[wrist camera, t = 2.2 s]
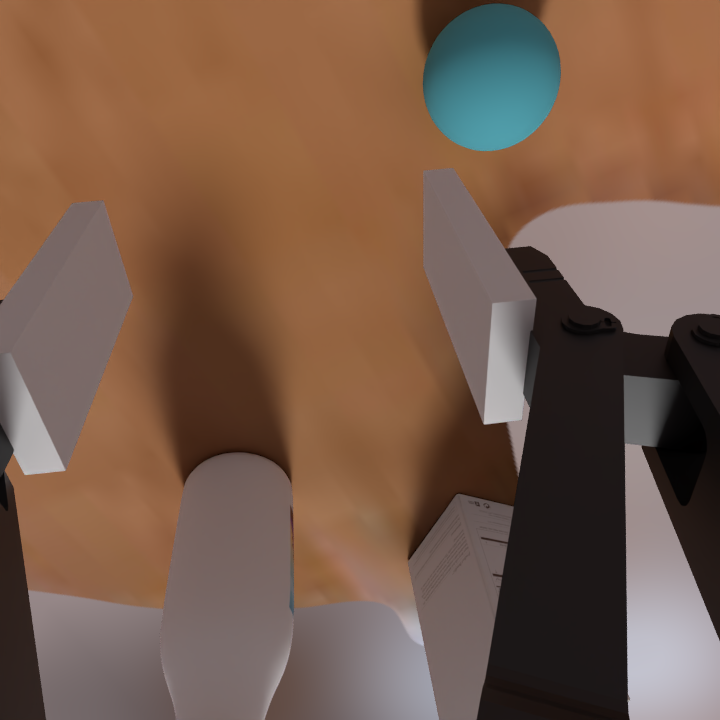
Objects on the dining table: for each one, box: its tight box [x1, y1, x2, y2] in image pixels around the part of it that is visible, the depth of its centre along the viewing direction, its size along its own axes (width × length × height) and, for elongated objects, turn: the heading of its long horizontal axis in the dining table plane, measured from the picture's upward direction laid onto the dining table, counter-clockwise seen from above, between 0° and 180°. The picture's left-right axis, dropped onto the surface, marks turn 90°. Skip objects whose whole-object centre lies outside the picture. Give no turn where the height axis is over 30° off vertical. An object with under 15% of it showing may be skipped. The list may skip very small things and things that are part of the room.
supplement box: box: [408, 494, 630, 720], centre depth 46 cm, size 9×9×15 cm
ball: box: [423, 3, 561, 151], centre depth 28 cm, size 6×6×6 cm
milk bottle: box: [160, 452, 294, 720], centre depth 38 cm, size 8×8×20 cm
